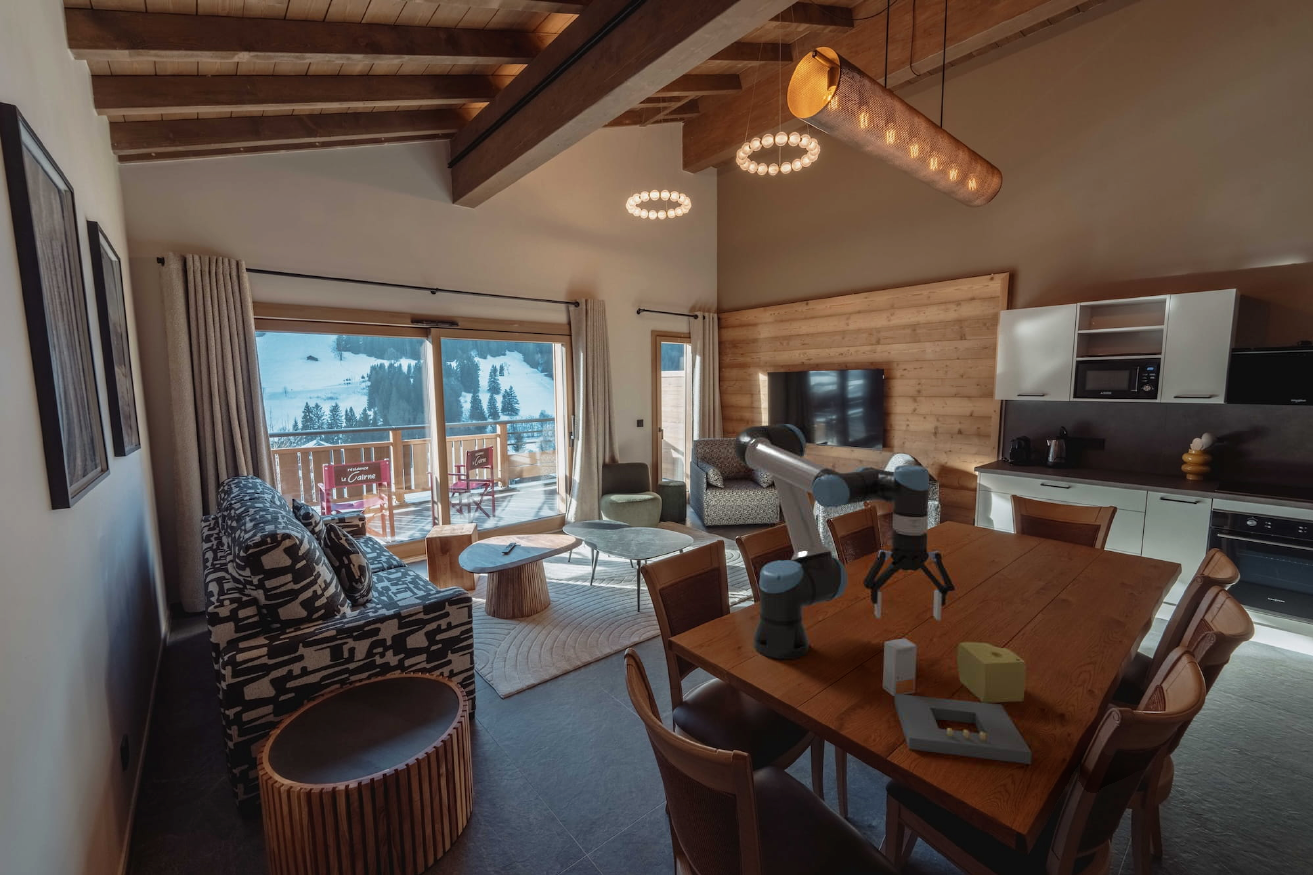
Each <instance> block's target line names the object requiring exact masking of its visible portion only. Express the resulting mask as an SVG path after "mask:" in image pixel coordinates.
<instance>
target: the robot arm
mask: <svg viewBox="0 0 1313 875" xmlns="http://www.w3.org/2000/svg"><path fill="white" fill-rule="evenodd" d="M806 449H807V442H806V438H805V436H804V434H803V433H802V431H801V429H799V428H798V427H797V426H794V425H793V424H788V423H787V424H785V423H777V424H770V425H769V424H768V425H766V424H765V425H753V426H749V427H746V428H744V429H743V430H741V431H740V432H739V433H738V434H737V436H736V438H735V439H734V444H733V452H734V454H735V457H736V458H737V460H738V461H739V462H740V463H741V464H742V465H745V466H746V467H748V468H750V469H753V470H754V471H755V470H757V471H758V470H763V471H764V472H766V473H767V474H769V475H770V476H772V478H773V483H774V486H775V490H776V492H777V496H778V497H777V498H778V501H779V504H780V507H781V510H782V515H783V516H784V520H785V525H786V528H787V532H788V534H789V537H790V541H791V546H792V548H793V552H794V553H793V555H792V557H791V560H789V559H786V560H785V559H784V560H775V561H771V562H769V563H767V564H765V565H764V566H763V567H762V568H761V570H760V574H759V582H758V586H759V619H758V623H757V626H756V628H755V631H754V633H753V647H754V649H755V650H756V652H758V653H760V654H762V656H763V655H764V656H766V657H768V658H771V659H772V658H773V659H778V660H794V659H795V660H796V659H799V658H801V657H803V656H805V655H806V654H808V652H809V648H810V647H809V646H810V645H809V643H810V642H809V639H808V638H809V637H808V635H807V632H806V628H805V625H804V623H803V608H806V607H808V606H812V605H817V604H821V603H823V602H830V601H832V600H834V599H836V598H839V597H840V596H842V595H843V594H844V592H845V589H846V588H847V584H848V575H847V574H848V573H847V570H846V568H845V565H844V564H843V562H841V560H840V559H839V558H837V557H834V556H833V555H832V554H833V553H832V551H831V549H829V548H828V547H826V546H825V545H824V542H823V540H822V536H821V533H820V530H819V526H818V524H817V520H816V517H815V513H814V510H813V506H812V504H811V500H810V497H809V494H808V493H810V494H811V495H812V497H813V499H814V500H815V501H816V502H817V504H818V505H819V506H820V507H823V508H838V507H842V506H847V505H852V504H859V503H864V502H871V501H883V502H886V503H890V504H892V506H893V507H892V510H893V511H892V513H893V514H892V529H893V531H892V540H891V541H892V542H891V543H892V544H891V546H892V548H891V550H890V551H887V550H884V549H882V548H879V549H878V551H877V554H876V559H875V560H874V562H873V564H872V566H871V567H870V569H869V570H868V573H867V574H866V576H865V578H864V580H863V581H862V585H863V586H864V587H865V589H867V590H870V600H871V603H872V604H874V615H875V616H876V619H881V617H882V591H881V590H880V589H881V588H882V587H883V586H884V585H885V584H886V583H887V582H888V581H889V580H890V579H891V577H893V576H894V575H895V574H896V573H898V572H899V571H900V570H902V571H913V572H915V571H918V570H921V571H922V572H923V573H924V574H925V575H926V577H927V578H928V579H929V580H930V581H931V583H933V585H934V586H935V587H936V588H937V589H933V590H934V592H933V610H932V611H933V612H932V613H933V617H934V618H935V620H936V621H941V618H942V607H945V606H946V599H947V597H946V596H947V595H948V594H949V592H954V591H955V590H956V588H955V586H954V584H953V582H952V580H951V578H950V576H949V574H948V572H947V570H946V567H945V566H944V564H943V561H942V560H943V559H942V554H941V553H940V552H939V551H938V550H936V549H933V550H932V551H929V552H928V551H927V550H928V534H927V532H928V525H929V523H928V522H929V521H928V520H929V511H928V510H929V497H930V496H929V495H930V487H931V486H930V472H929V470H928V468H926V467H924V466H921V465H912V464H911V465H910V464H909V465H908V464H904V465H901V464H900V465H897V466H896V467H894V471H890V470H885V469H880V468H875V467H872V466H871V467H870V466H869V467H865V466H861V467H858V468H857V469H856V470H855V471H852V472H851V471H850V472H844V473H842V472H838V471H836V470H833V469H831V468H829V467H826V466H824V465H822V464H819V463H816V462H815V461H812V460H809V459H808V458H804V455H805V454H806V452H807V451H806ZM889 558H891V559H892V560H891V561H890V563H888V566H887V567H886V568H885V569H884V570H883V571H882V572H881V573H880V571H881V570H882V569H883V568H882V567H883V566H884V564H885V561H888V559H889ZM929 559H930V560H931V561H932V562H933V563H934V565H935V567H936V570H937V571H938V573H939V575H940V577H941V579H942V581H943V584H942V583H941V582H940V581H939V580H938V578H936V576H935V575H934V574H933V573H932V572H931V570H930V569H929V568H928V567H927V566H926V565H925V563H926V562H927V560H929ZM879 573H880V574H879Z"/></svg>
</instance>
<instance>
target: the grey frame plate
mask: <svg viewBox="0 0 1313 875" xmlns="http://www.w3.org/2000/svg"><path fill="white" fill-rule="evenodd" d="M894 706H895V710H896V712H897V716H898V718H899V721H900V725H901V728H902V732H903V736H904V738H905V741H906V744H907V747H908V750H911V751H912V750H913V751H921V752H929V753H930V752H931V753H937V754H939V753H940V754H945V755H953V756H954V755H955V756H963V757H970V758H976V759H977V758H978V759H985V760H995V761H1002V762H1010V763H1018V764H1027V765H1031V764H1032V750H1031V749H1030V748H1029V746H1028V744H1027V742H1026V741H1025V740H1024V738H1023V736H1022V735H1021V733H1020V732H1019V730H1018V729H1017V727H1016V725H1015V724H1014V723H1013V721H1012V719H1011V718H1010V716H1009V715H1008V713H1007V712H1006V710H1005V708H1004V707H1003V705H1002V704H997V703H983V702H981V701H980V702H978V701H977V702H976V701H968V700H959V699H950V698H949V699H948V698H939V697H929V696H919V695H913V694H912V695H910V694H904V695H902V694H895V697H894ZM936 720H940V721H941V720H942V721H950V722H960V723H968V724H974V725H975V727H976V728H977V731H978V732H979V733H978V732H970V731H969V730H968V729H963V730H962V731H961V730H954V729H952V728H951V727H947V728H946V729H943V728H940V727H939V725H938V723H937V721H936Z"/></svg>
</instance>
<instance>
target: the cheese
mask: <svg viewBox="0 0 1313 875" xmlns="http://www.w3.org/2000/svg"><path fill="white" fill-rule="evenodd" d="M956 655H957V668H958V669H957V670H958V675H959V682H960V683H961V684H963V686H964V687H966V688H967V689H968V690H969V691H970V692H971V693H972V694H973V695H974V696H975V697H976V698H978V699H979V700H980V702H981V703H989V704H997V703H1009V702H1024V698H1025V690H1026V689H1025V688H1026V669H1027V668H1026V666H1027V664H1026V661H1025V660H1024V659H1022V658H1021V657H1020V656H1019V655H1017V654H1016V653H1015V652H1013V651H1012V650H1010V649H1009V648H1005V647H1004V648H1003V647H997V646H994V645H993V644H990V643H987V642H973V641H963V642H959V643H958V648H957V654H956Z"/></svg>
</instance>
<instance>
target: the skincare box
mask: <svg viewBox="0 0 1313 875" xmlns="http://www.w3.org/2000/svg"><path fill="white" fill-rule="evenodd" d="M883 648H884V650H883V651H884V652H883V670H882V671H883V675H882V688H883V689H884V690H885V691H886V692H887V693H888V694H890V695H891V696H892V697H894V698H895V694H902V695H910V694H914V693H915V690H916V688H915V686H916V666H917V651H918V650H917V645H916V644H915V643H913V642H912V641H910V640H908V639H907V638H900V639H897V638H896V639H892V640H888V641H884V646H883Z"/></svg>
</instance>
